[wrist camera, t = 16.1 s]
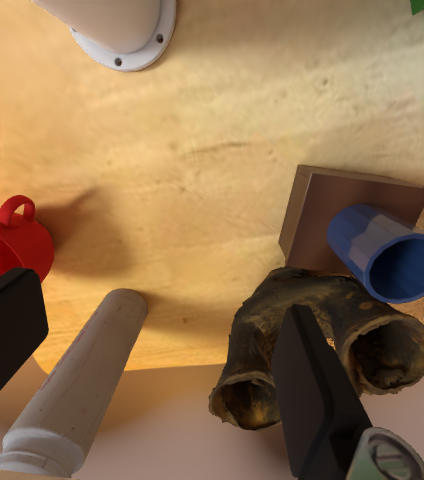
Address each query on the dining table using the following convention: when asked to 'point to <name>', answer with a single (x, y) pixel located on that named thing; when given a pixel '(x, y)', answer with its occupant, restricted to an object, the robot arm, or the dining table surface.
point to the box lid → (335, 200)
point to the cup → (380, 252)
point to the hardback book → (417, 6)
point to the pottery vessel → (333, 326)
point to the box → (298, 194)
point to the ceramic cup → (24, 239)
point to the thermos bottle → (76, 392)
